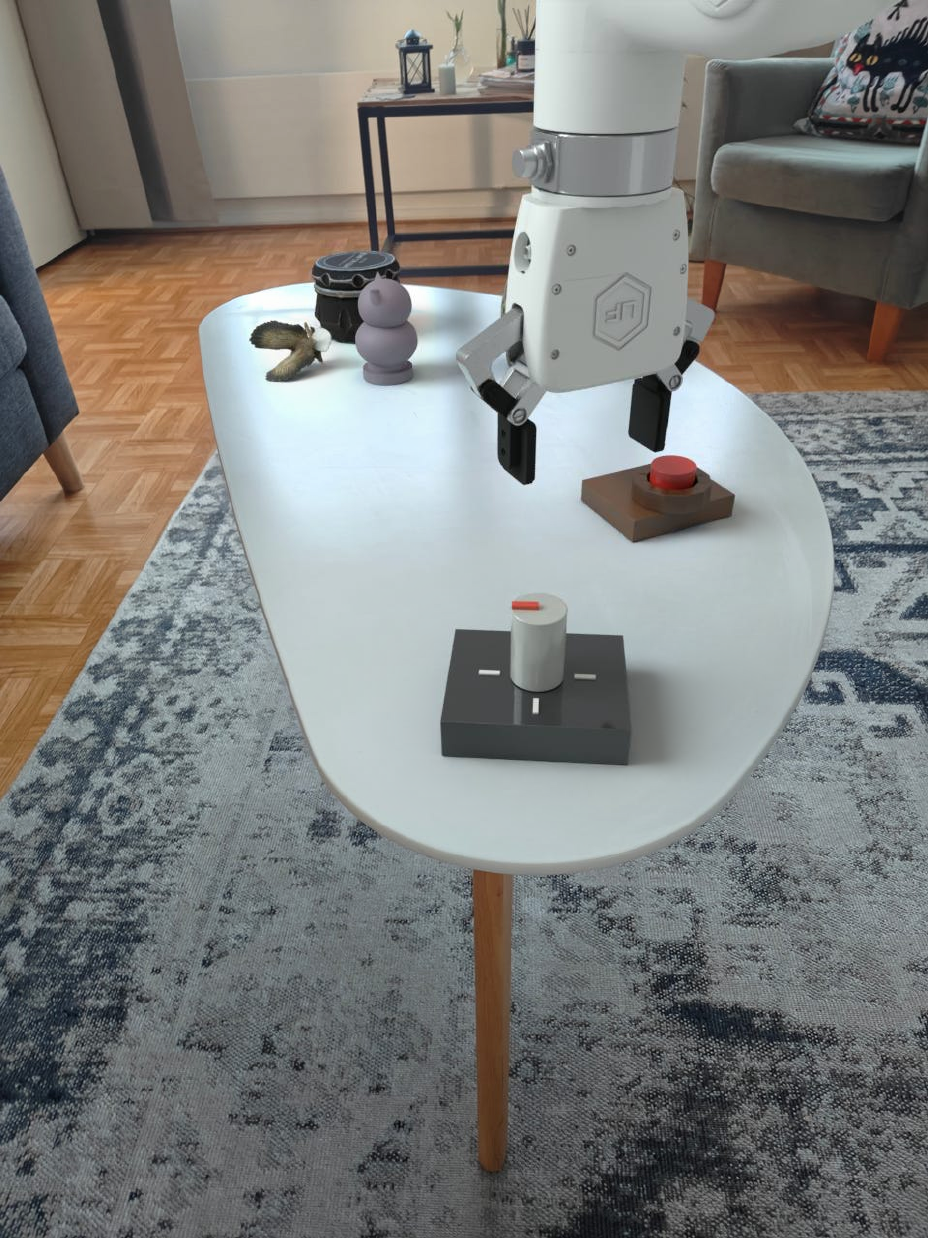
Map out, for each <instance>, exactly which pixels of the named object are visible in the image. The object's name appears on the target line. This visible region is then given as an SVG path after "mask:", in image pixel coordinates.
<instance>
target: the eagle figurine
mask: <svg viewBox="0 0 928 1238" xmlns="http://www.w3.org/2000/svg"><path fill="white" fill-rule="evenodd" d="M248 341H249V342H250V344H251V345H253V346H254V348H255V349H262V350H273V351H274V350H275V351H279V350H289V351H290V353H289V354H288V356H287V357H285V358H284V359H283V360H281V361H280V362H279V363H278V364H277V365H276V366H275V367H274V368H273V367H272V369H270V370H268V371H267V372H265V376H264V377H265V380H266V381H268V382H277V381H278V382H281V381H286V380H287V381H288V380H289V379H292V378H293V377H294V376H297V373H299V372H301V370H303V369H304V368H306V367H309V366H312V364H313V363H314V362H315V361H316V360H317V362H318V363H321V364H323V363H324V360H323V357H322V353H327V351H328V350H329V348H330V346H331V344H332V338H331V335H330V333H329V332H328V331H327V330H326V329H324V328H321V326H320V327H317V328H315V327H314V326H309V324H308V323H307V322H306V321H304V323H303V326H302V325H300V323H296V324H290V323H288V322H282V321H278V320H270V321H266V322H263V323H260V324H259V325H257V326H255V328H254V329H253V330H252V332H251V333H250V337H249V339H248Z"/></svg>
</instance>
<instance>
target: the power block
mask: <svg viewBox="0 0 928 1238" xmlns="http://www.w3.org/2000/svg"><path fill="white" fill-rule="evenodd" d="M650 470H651V463H647V464H643V465H640V466H634V467H631V468H627V469H626V468H625V469H622V470H618V471H613V472H610V473H605V474H602V475H597V476H593V477H589V478H585V479H584V478H583V479H582V480H581V490H580V501H581V502H583V503H584V504H585V505H586V506H587V507H588V508H589V509H591V510H592V511H594V512H595V513H596V514H597V515H598V516H599V517H601V518H602V519H604V521H606V522H607V523H608V524H610V525H611V526H612V527H613V528H614V529H615V530H617V531H618V532H619V533H621V534H622V535H623V536H624V537H625V538H626V539H628V540H629V541H630V542H632V543H635V542H638V541H642V540H647V539H650V538H654V537H657V536H660V535H661V536H662V535H665V534H668V533H672V532H676V531H679V530H683V529H687V528H690V527H691V528H692V527H694V526H697V525H701V524H705V523H709V522H712V521H716V520H719V519H725V518H727V517H730V516H732V515H733V511H734V504H735V499H736V494H735V493H733V492H732V491H730V490H728V489H727V488H726V487H724V486H723V485H721V484H719V483H718V482H716V481H715V480H713V479H711V475H710V474H709V473H707V472H705V470H703V469H701V468H699V467H698V466H697V468H696V475H695V482H694V486H693V487H692V488H688V489H684V490H667V489H663V488H659V487H655V486H654V485H652V484H651V483H650V480H649V479H650Z"/></svg>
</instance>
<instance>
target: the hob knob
mask: <svg viewBox="0 0 928 1238" xmlns="http://www.w3.org/2000/svg"><path fill="white" fill-rule="evenodd" d="M568 610H569V608H568V606H567V604H566V602H565V601H564V600H563V599H562V598H561V597H559V596H558V595H557V596H556V595H554V594H551V593H546V592H530V593H525V594H523V595H520V596H518V597H517V598H515V600H512V601H511V607H510V631H511V650H510V676H511V679H512V681H513V682H514V683H515V684H516V685H517V686H518V687H520V688H522V689H525V690H528V691H533V692H543V691H548V690H551V689H554V688H556V687H557V686H558V685H560V683H561V682H562V681H563V678H564V666H565V649H566V633H567V631H568V630H567V629H568V615H569V613H568Z"/></svg>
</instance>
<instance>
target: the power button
mask: <svg viewBox="0 0 928 1238" xmlns="http://www.w3.org/2000/svg"><path fill="white" fill-rule="evenodd" d="M650 464H651V470H650V479H649V480H650V483H651V484H652V485H654V486H655V487H659V488H663V489H667V490H684V489H688V488H692V487H693V486H694V482H695V475H696V468H697V467H698V466H697V464H696V462H695V461H694V460H693V459H690V458H688V457H686V456H681V455H675V454H671V455H670V454H667V455H662V456H661V455H660V456H657V457H655V458H654V459H653V460H652V461H651V462H650Z"/></svg>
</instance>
